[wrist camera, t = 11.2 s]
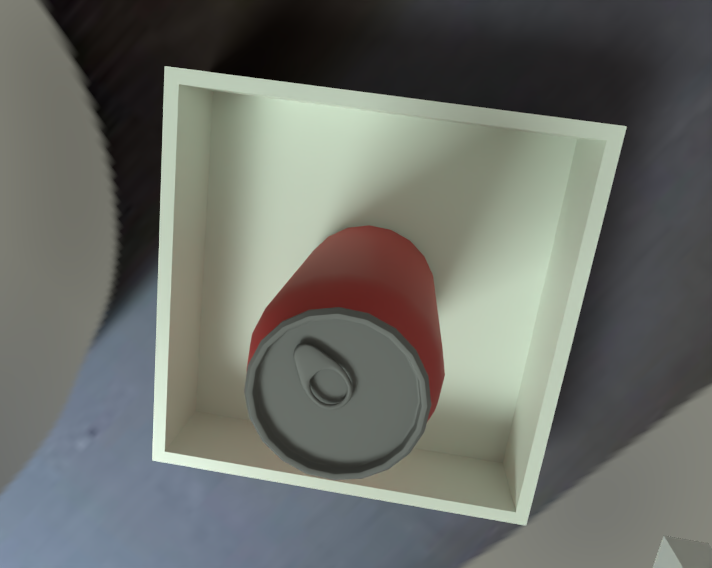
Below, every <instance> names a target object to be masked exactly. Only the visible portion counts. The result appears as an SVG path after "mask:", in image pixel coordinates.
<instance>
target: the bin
mask: <svg viewBox="0 0 712 568" xmlns="http://www.w3.org/2000/svg"><path fill="white" fill-rule="evenodd" d="M626 128H627V126H621V125H613V124H605V123H598V122H590V121H582V120H575V119H567V118H559V117H552V116H544V115H536V114H528V113H521V112H513V111H505V110H498V109H490V108H482V107H475V106H467V105H459V104H452V103H444V102H436V101H428V100H421V99H413V98H405V97H398V96H390V95H382V94H375V93H367V92H359V91H352V90H344V89H336V88H328V87H321V86H313V85H305V84H298V83H290V82H282V81H275V80H267V79H259V78H252V77H244V76H236V75H229V74H221V73H213V72H205V71H198V70H190V69H182V68H175V67H167V66H165V73H164V105H163V136H162V168H161V200H160V231H159V263H158V295H157V326H156V358H155V390H154V421H153V453H152V460H153V461H159V462H165V463H171V464H176V465H182V466H188V467H194V468H199V469H205V470H211V471H216V472H222V473H228V474H234V475H239V476H245V477H251V478H257V479H262V480H268V481H274V482H279V483H285V484H291V485H297V486H302V487H308V488H314V489H320V490H325V491H331V492H337V493H342V494H348V495H354V496H360V497H365V498H371V499H377V500H383V501H388V502H394V503H400V504H406V505H411V506H417V507H423V508H428V509H434V510H440V511H446V512H451V513H457V514H463V515H469V516H474V517H480V518H486V519H491V520H497V521H503V522H509V523H514V524H520V525H526V524H527V520H528V516H529V512H530V508H531V504H532V500H533V497H534V493H535V489H536V485H537V481H538V477H539V473H540V469H541V465H542V461H543V457H544V453H545V449H546V445H547V441H548V437H549V433H550V429H551V425H552V421H553V417H554V413H555V409H556V405H557V401H558V397H559V393H560V389H561V385H562V382H563V378H564V374H565V370H566V366H567V362H568V358H569V354H570V350H571V346H572V342H573V338H574V334H575V330H576V326H577V322H578V318H579V314H580V310H581V306H582V302H583V298H584V294H585V290H586V286H587V282H588V278H589V274H590V271H591V267H592V263H593V259H594V255H595V251H596V247H597V243H598V239H599V235H600V231H601V227H602V223H603V219H604V215H605V211H606V207H607V203H608V199H609V195H610V191H611V187H612V183H613V179H614V175H615V171H616V167H617V163H618V159H619V156H620V152H621V148H622V144H623V140H624V136H625V132H626ZM368 225H370V226H375V227H380V228H385V229H390V230H392V231H394V232H396V233H398V234H399V235H401V236H403V237H405V238H406V239H408V240H410V241H411V242H412V243H413V244H414V246H415V247H416V248H417V249H418V250H419V251H420V252H421V253H422V254H423V255H424V256H425V259H426V261H427V263H428V265H429V268H430V270H431V272H432V274H433V279H434V287H435V294H436V302H437V310H438V317H439V325H440V333H441V340H442V349H443V359H444V370H445V377H444V381H443V385H442V389H441V393H440V397H439V400H438V404H437V406H436V409H435V411H434V413H433V414H432V416H431V417H430V419H429V420H428V422H427V424H426V428H425V432H424V433H423V435H422V436H421V438H420V439H419V440H418V442H417V443H416V445H415V446H414V448H413V449H412V451H411V452H410V454H408V455H407V456H406V457H404V458H403V459H402V460H400V461H399V462H398V463H396V464H395V465H394V466H392V467H391V468H390V469H388V470H386V471H383V472H380V473H377V474H374V475H372V476H369V477H366V478H363V479H348V480H331V479H327V478H322V477H318V476H314V475H309V474H306V473H304V472H302V471H300V470H299V469H297V468H295V467H293V466H291V465H289V464H287V463H286V462H284V461H282V460H281V459H280V458H279V457H278V456H277V455H276V454H275V453H274V452H273V451H272V450H271V449H270V448H269V447H268V446H267V445H266V444H265V443H264V442H262V440H261V438H260V436H259V434H258V433H257V431H256V429H255V427H254V425H253V424H252V422H251V420H250V418H249V414H248V409H247V404H246V399H245V393H244V388H245V382H246V375H247V371H246V370H247V363H248V356H249V349H250V343H251V337H252V333H253V331H254V329H255V327H256V325H257V323H258V321H259V320H260V318H261V316H262V314H263V312H264V310H265V308H266V307H267V306H268V305H269V303H270V302H271V301H272V300H273V298H274V297H275V296H276V295H277V294H278V292H279V291H280V290H281V289H282V288H283V286H284V285H285V284H286V283H287V282H288V280H289V279H290V278H291V277H292V276H293V274H294V273H295V272H296V271H297V270H298V268H299V267H300V266H301V265H302V264H303V262H304V261H305V260H306V259H307V258H308V256H309V255H310V254H311V253H312V252H313V250H315V249H316V248H317V247H318V246H319V245H320V244H321V243H322V242H323V241H324V240H325V239H326V238H327V237H329V236H331V235H333V234H335V233H337V232H340V231H342V230H344V229H346V228H350V227H359V226H368Z"/></svg>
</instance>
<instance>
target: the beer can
mask: <svg viewBox="0 0 712 568" xmlns="http://www.w3.org/2000/svg"><path fill="white" fill-rule="evenodd" d="M246 371H247V375H246V382H245V388H244V393H245V399H246V404H247V409H248V414H249V418H250V420H251V422H252V424H253V425H254V427H255V429H256V431H257V433H258V434H259V436H260V438H261V440H262V442H264V443H265V444H266V445H267V446H268V447H269V448H270V449H271V450H272V451H273V452H274V453H275V454H276V455H277V456H278V457H279V458H280V459H281V460H282V461H284V462H286V463H287V464H289V465H291V466H293V467H295V468H297V469H299V470H300V471H302V472H304V473H306V474H309V475H314V476H318V477H322V478H327V479H331V480H348V479H363V478H366V477H369V476H372V475H374V474H377V473H380V472H383V471H386V470H388V469H390V468H391V467H392V466H394V465H395V464H396V463H398V462H399V461H400V460H402V459H403V458H404V457H406V456H407V455H408V454H410V452H411V451H412V449H413V448H414V446H415V445H416V443H417V442H418V440H419V439H420V438H421V436H422V435H423V433H424V432H425V428H426V424H427V422H428V420H429V419H430V417H431V416H432V414H433V413H434V411H435V409H436V406H437V404H438V400H439V397H440V393H441V389H442V385H443V381H444V377H445V370H444V359H443V349H442V340H441V333H440V325H439V317H438V310H437V302H436V294H435V287H434V279H433V274H432V272H431V270H430V268H429V265H428V263H427V261H426V259H425V256H424V255H423V254H422V253H421V252H420V251H419V250H418V249H417V248H416V247H415V246H414V244H413V243H412V242H411V241H410V240H408V239H406V238H405V237H403V236H401V235H399V234H398V233H396V232H394V231H392V230H390V229H385V228H380V227H375V226H370V225H368V226H359V227H350V228H346V229H344V230H342V231H340V232H337V233H335V234H333V235H331V236H329V237H327V238H326V239H325V240H324V241H323V242H322V243H321V244H320V245H319V246H318V247H317V248H316V249H315V250H313V252H312V253H311V254H310V255H309V256H308V258H307V259H306V260H305V261H304V262H303V264H302V265H301V266H300V267H299V268H298V270H297V271H296V272H295V273H294V274H293V276H292V277H291V278H290V279H289V280H288V282H287V283H286V284H285V285H284V286H283V288H282V289H281V290H280V291H279V292H278V294H277V295H276V296H275V297H274V298H273V300H272V301H271V302H270V303H269V305H268V306H267V307H266V308H265V310H264V312H263V314H262V316H261V318H260V320H259V321H258V323H257V325H256V327H255V329H254V331H253V333H252V337H251V343H250V349H249V356H248V363H247V370H246Z"/></svg>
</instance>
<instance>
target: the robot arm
mask: <svg viewBox="0 0 712 568" xmlns="http://www.w3.org/2000/svg"><path fill="white" fill-rule="evenodd" d="M653 568H712V548H711V546H710V545H709V544H708V543H704V542H698V541H692V540H687V539H681V538H675V537H669V536H664V537H663V539H662V542H661V546H660V548H659V551H658V554H657V557H656V559H655V562H654V565H653Z"/></svg>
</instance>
